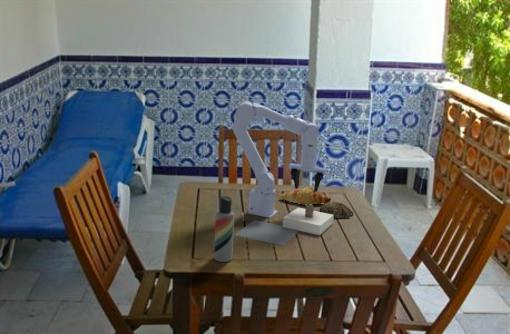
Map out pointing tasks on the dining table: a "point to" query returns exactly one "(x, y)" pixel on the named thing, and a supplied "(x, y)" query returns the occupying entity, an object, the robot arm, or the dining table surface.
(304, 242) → the dining table surface
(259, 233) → the mat
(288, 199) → the croissant
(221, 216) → the lotion bottle
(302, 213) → the cover
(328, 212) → the bread roll
